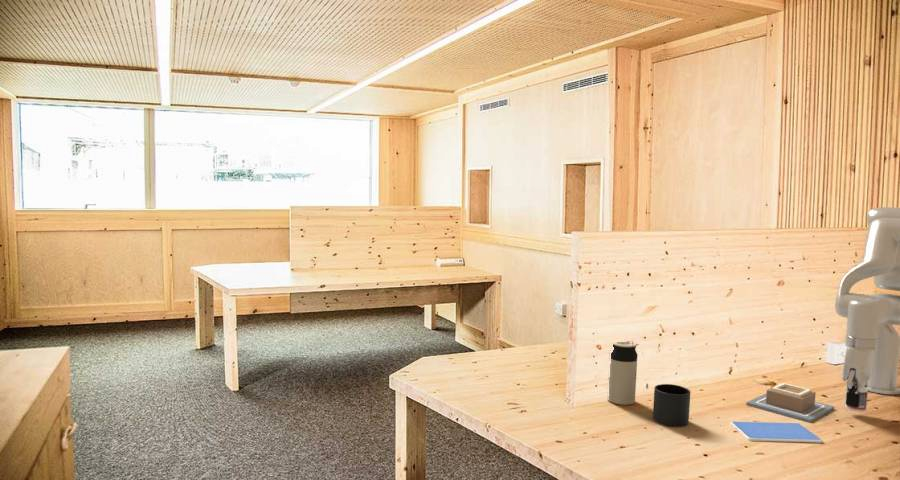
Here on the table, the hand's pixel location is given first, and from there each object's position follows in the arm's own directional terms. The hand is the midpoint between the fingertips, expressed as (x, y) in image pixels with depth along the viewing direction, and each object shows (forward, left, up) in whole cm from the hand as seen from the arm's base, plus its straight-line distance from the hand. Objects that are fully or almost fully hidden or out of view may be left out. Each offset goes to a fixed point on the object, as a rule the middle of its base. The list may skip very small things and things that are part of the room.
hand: (855, 402), depth 190 cm
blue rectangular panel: (+33, -9, -5) cm, 34 cm away
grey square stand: (+8, -15, -4) cm, 17 cm away
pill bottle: (0, 0, -2) cm, 2 cm away
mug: (+47, -32, -4) cm, 57 cm away
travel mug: (+45, -49, -4) cm, 66 cm away
